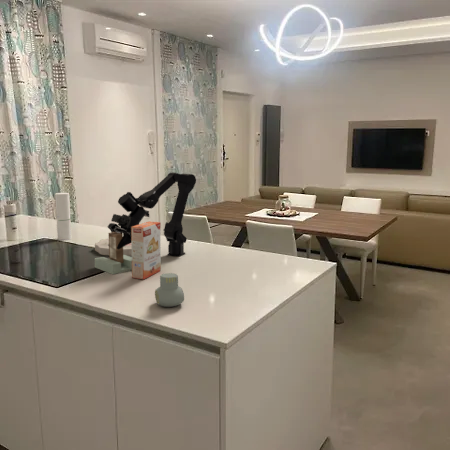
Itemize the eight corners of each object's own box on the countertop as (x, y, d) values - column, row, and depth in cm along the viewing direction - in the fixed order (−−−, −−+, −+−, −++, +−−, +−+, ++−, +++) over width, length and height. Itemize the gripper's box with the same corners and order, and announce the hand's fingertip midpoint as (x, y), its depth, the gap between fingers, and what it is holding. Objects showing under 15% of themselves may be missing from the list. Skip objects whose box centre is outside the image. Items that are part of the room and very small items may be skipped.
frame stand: (94, 267, 193) (94, 258, 193) (119, 262, 202) (119, 253, 201) (113, 274, 184) (112, 264, 183) (138, 268, 193) (138, 259, 192)
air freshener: (153, 300, 154) (153, 271, 153) (177, 297, 157) (177, 269, 155) (160, 311, 144) (160, 281, 143) (185, 308, 147) (185, 278, 145)
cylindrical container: (66, 236, 254) (63, 192, 250) (74, 238, 250) (71, 193, 246) (55, 238, 249) (52, 193, 244) (63, 240, 245) (60, 194, 240)
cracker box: (144, 280, 176) (143, 227, 173) (131, 278, 178) (129, 226, 175) (161, 270, 189) (161, 221, 185) (149, 269, 191) (148, 220, 188)
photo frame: (123, 262, 192) (122, 233, 189) (117, 264, 189) (116, 235, 187) (115, 260, 196) (114, 231, 193) (109, 261, 193) (108, 232, 191)
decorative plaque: (86, 248, 213) (108, 235, 243) (86, 256, 214) (108, 242, 243) (148, 250, 210) (163, 237, 240) (148, 258, 211) (163, 243, 240)
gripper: (110, 204, 197) (88, 233, 192) (135, 209, 185) (113, 239, 179) (126, 220, 204) (105, 248, 199) (151, 225, 192) (130, 255, 186)
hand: (113, 247), depth 190 cm, fingers closed on photo frame, 6 cm apart
